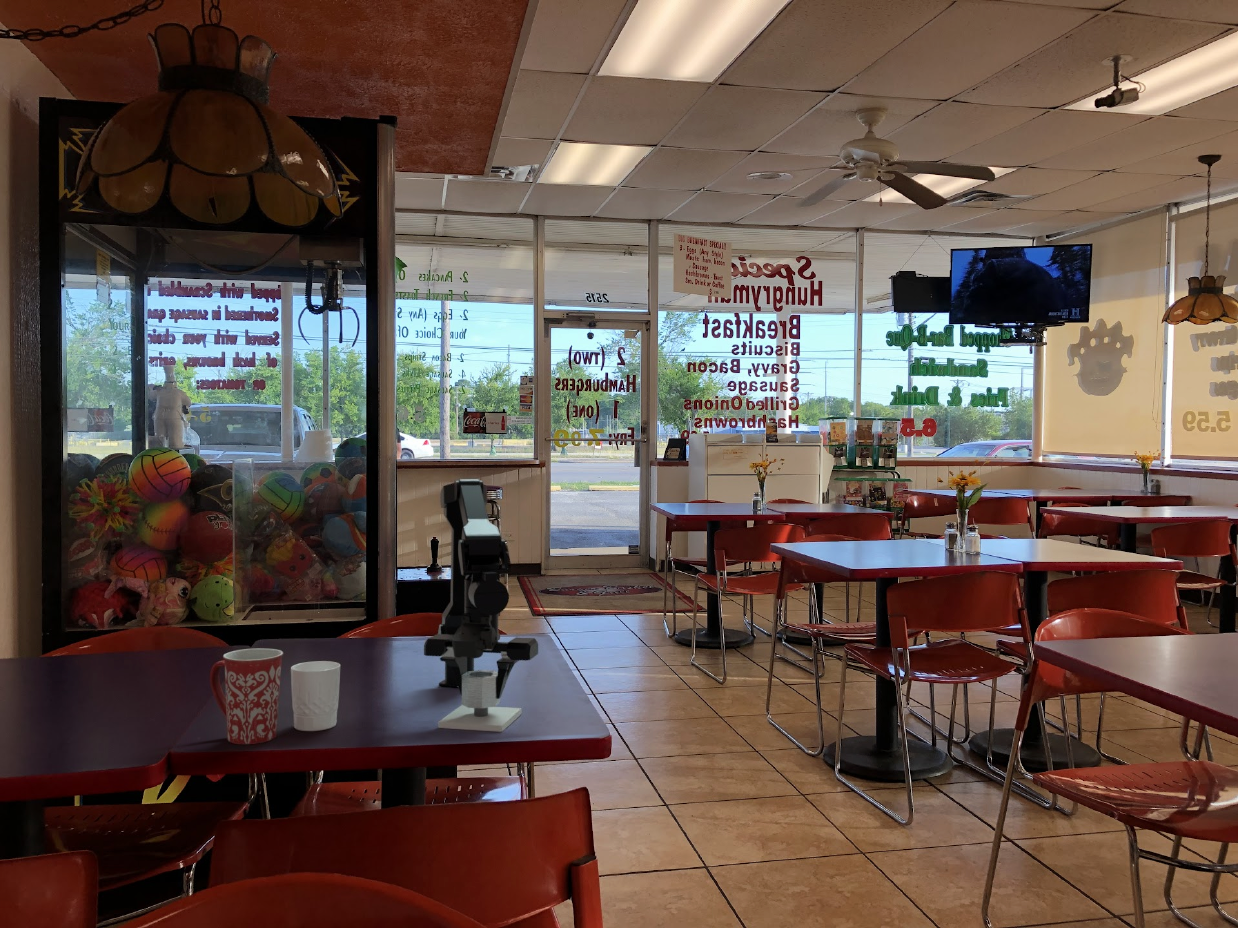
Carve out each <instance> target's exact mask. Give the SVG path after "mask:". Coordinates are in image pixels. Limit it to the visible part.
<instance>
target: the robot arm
mask: <svg viewBox="0 0 1238 928" xmlns="http://www.w3.org/2000/svg"><path fill="white" fill-rule="evenodd" d="M487 487H488V486H487V485H486V484H484V482H483V480H480V479H478V478H477V479H476V478H475V479H474V478H473V479H471V478H465V479H463V478H458V480H455V481H454V482H452V483H448V484H446V485H443V486H442V488H441V490H440V500H439V501H440V508H441V509H443V516H444V518H445V520H446V521H447V523H448V525H449V526H450V529H451V539H450V541H451V542H450V543H451V544H450V545H451V547H450V548H451V549H450V551H451V552H450V602H449V603H448V604H447V606H446V608H445V609H444V611H443V612H442V615H441V618H442V619H441V621H442V622H441V624H439V625H438V631H437V632H438V633H437V634H435V635H432V636H430V637H429V638H427V639H426V640H425V641H424V644H423V655H424V656H426V657H439V660H440V662H444V679H443V680H442V681H440V682H438V686H439V687H453V688H454V687H457V688H458V690H459V692H460V696H461V697H462V675H463V674H464V673H466V672H469V671H475V659H479V658H481V657H482V656H483V654H484V653H485V654H486V653H487V654H490V653H491V654H500V656H501V658H500V659H498V660H496V666H497V672H498V676H497V699H500V700H501V697H502V696H503V692H504V689H505V687H506V684H507V682H508V679H509V677H510V674H511V672H512V670H513V668H514V666H515V664H517V663H518V662H520V661H525V662H526V661H530V660H532V659H534V658H535V657H536V656H537V655H539V643H538V640H537V639H536V638H535V637H517V636H516V637H514V638H512V639H511V640H509V641H508V642H507V641H506V642H505V641H499V640H501V633H499V617H500V616H501V613H502V612H504V610H505V609H506V607H507V606H508V604H509V600H510V593H509V591H508V588H507V586H506V585H505V584H504V583H503V582H501V580H500V579H501V578H500V575H509V571H510V570H509V569H511V563H512V562H511V557H510V553H509V552H510V551H509V547H508V546H509V545H508V544H507V543H506V540H505V538H502V535H501V532H500V529H499V527H498V526H496V525H495V524H493V523H491V522H490V520H489V515H488V510H487V507H486V506H487V505H488V488H487ZM500 563H501V564H500Z"/></svg>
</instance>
